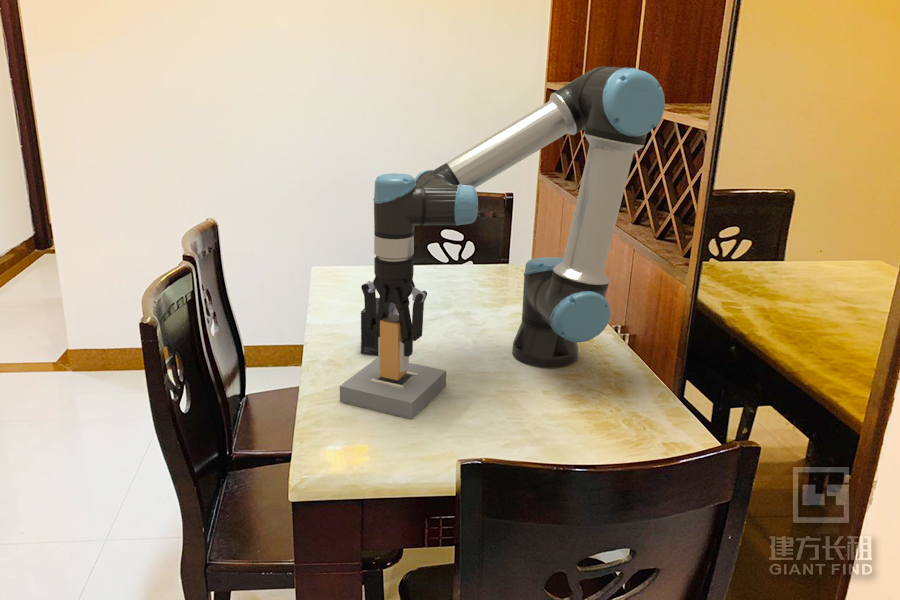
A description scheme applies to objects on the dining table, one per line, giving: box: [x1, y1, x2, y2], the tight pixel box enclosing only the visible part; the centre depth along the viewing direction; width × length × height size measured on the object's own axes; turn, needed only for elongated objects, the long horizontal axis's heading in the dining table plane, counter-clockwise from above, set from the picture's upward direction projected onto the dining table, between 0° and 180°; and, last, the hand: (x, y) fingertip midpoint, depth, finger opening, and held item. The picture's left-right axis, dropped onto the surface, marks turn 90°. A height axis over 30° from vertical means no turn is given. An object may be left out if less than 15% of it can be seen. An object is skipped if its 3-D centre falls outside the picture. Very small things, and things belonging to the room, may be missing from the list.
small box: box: [360, 297, 398, 356], centre depth 169 cm, size 11×6×10 cm, turn 168°
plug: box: [380, 314, 407, 380], centre depth 145 cm, size 4×4×12 cm
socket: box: [339, 357, 447, 420], centre depth 148 cm, size 16×16×4 cm
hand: (393, 367), depth 147 cm, fingers closed on plug, 4 cm apart
